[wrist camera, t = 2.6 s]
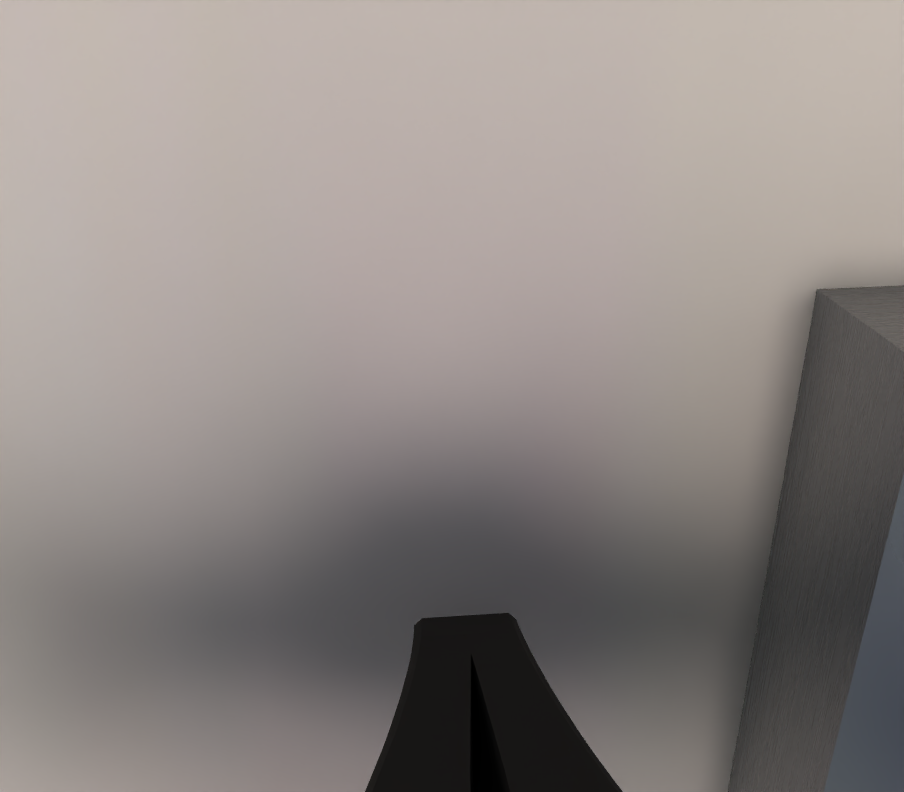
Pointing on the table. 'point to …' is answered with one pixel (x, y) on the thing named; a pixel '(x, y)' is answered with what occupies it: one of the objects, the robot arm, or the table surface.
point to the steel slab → (835, 568)
